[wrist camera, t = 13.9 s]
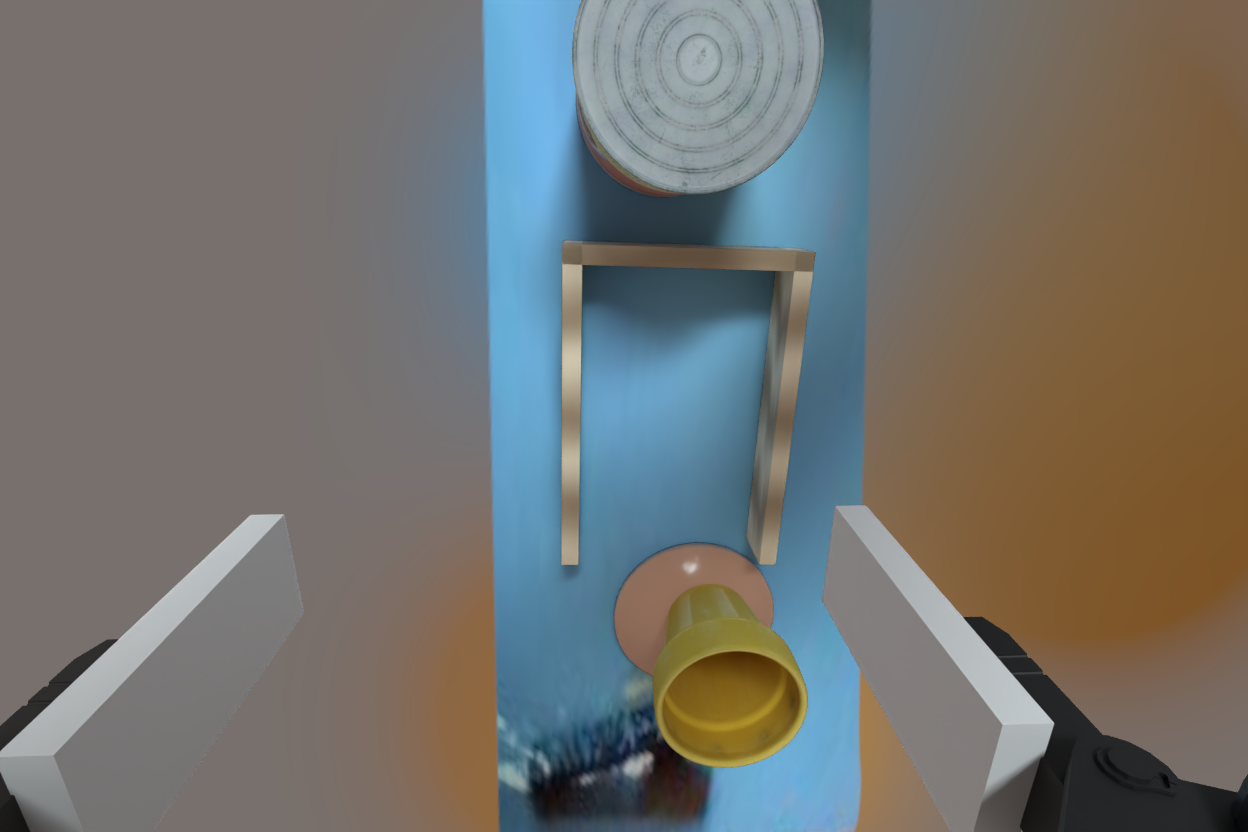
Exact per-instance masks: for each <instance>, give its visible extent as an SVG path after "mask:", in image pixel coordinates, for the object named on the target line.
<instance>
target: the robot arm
mask: <svg viewBox="0 0 1248 832" xmlns="http://www.w3.org/2000/svg"><path fill="white" fill-rule="evenodd" d="M822 602H823V603H824V605H825V607H826V609H827V611H828V612H829V614H830V616H831V618H832V620H833V621H834V623H835V625H836V627H837V629H838V630H839V632H840V634H841V636H842V637H843V639H844V641H845V643H846V645H847V646H848V648H849V650H850V652H851V654H852V655H853V657H854V659H855V661H856V663H857V664H858V666H859V668H860V670H861V672H862V673H863V675H864V677H865V679H866V681H867V682H868V684H869V686H870V688H871V689H872V691H873V693H874V695H875V697H876V699H877V700H878V702H879V704H880V706H881V708H882V709H883V711H884V713H885V715H886V717H887V718H888V720H889V722H890V724H891V726H892V727H893V729H894V731H895V733H896V735H897V736H898V738H899V740H900V741H901V743H902V745H903V747H904V749H905V751H906V753H907V754H908V756H909V758H910V760H911V762H912V763H913V765H914V767H915V769H916V770H917V772H918V774H919V776H920V778H921V779H922V781H923V783H924V785H925V787H926V788H927V790H928V792H929V794H930V796H931V797H932V799H933V801H934V803H935V804H936V806H937V808H938V810H939V812H940V814H941V815H942V817H943V819H944V821H945V822H946V824H947V826H948V828H949V830H950V831H951V832H1021V829H1022V831H1023V832H1248V775H1247V776H1246V778H1245V779H1244V781H1243V783H1242V785H1241V787H1240V789H1239V791H1238V793H1237V792H1233V791H1228V790H1224V789H1219V788H1215V787H1211V786H1206V785H1202V784H1197V783H1193V782H1188V781H1183V780H1180V779H1178V778H1177V776H1176V775H1175V774H1174V773H1173V772H1172V771H1171V769H1170V768H1169V767H1168V766H1167V765H1165V764H1164V763H1163V762H1161V761H1160V760H1159V759H1157V758H1156V757H1154V756H1153V755H1152V754H1151V753H1149V752H1147V751H1145V750H1143V749H1141V748H1139V747H1138V746H1136V745H1134V744H1132V743H1130V742H1127V741H1124V740H1121V739H1118V738H1114V737H1111V736H1108V735H1102V734H1101V733H1100V732H1099V730H1098V729H1097V728H1096V727H1095V726H1094V725H1093V724H1092V723H1091V722H1090V721H1089V720H1088V719H1087V718H1086V717H1085V716H1084V714H1083V713H1082V712H1081V711H1080V710H1079V709H1078V708H1077V707H1076V706H1075V705H1074V704H1073V703H1072V702H1071V700H1070V699H1069V698H1068V697H1067V696H1066V695H1065V694H1064V693H1063V692H1062V691H1061V690H1060V689H1059V688H1058V687H1057V686H1056V684H1055V683H1054V682H1053V681H1052V680H1051V679H1050V678H1049V677H1048V676H1047V675H1043V672H1042V670H1041V668H1039V666H1038V665H1037V664H1036V663H1035V662H1034V661H1033V660H1032V659H1031V658H1028V657H1027V653H1026V652H1024V650H1023V649H1022V648H1021V647H1020V646H1019V645H1018V644H1017V643H1016V642H1015V641H1014V640H1013V639H1012V637H1011V636H1010V635H1009V634H1008V633H1006V632H1004V631H1003V630H1001V629H1000V628H998V627H997V626H995V625H994V624H992V623H991V622H989V621H988V620H986V619H985V618H983V617H962V616H961V615H960V614H959V613H958V611H957V610H956V609H955V608H954V607H953V606H952V604H951V603H950V602H949V601H948V600H947V599H946V597H945V596H944V595H943V594H942V593H941V592H940V591H939V589H938V588H937V587H936V586H935V585H934V584H933V582H932V581H931V580H930V579H929V578H928V577H927V575H926V574H925V573H924V572H923V571H922V570H921V569H920V567H919V566H918V565H917V564H916V563H915V562H914V561H913V559H912V558H911V557H910V556H909V555H908V554H907V552H906V551H905V550H904V549H903V548H902V547H901V545H900V544H899V543H898V542H897V541H896V540H895V539H894V537H893V536H892V535H891V534H890V533H889V532H888V530H887V529H886V528H885V527H884V526H883V525H882V523H881V522H880V521H879V520H878V519H877V518H876V516H875V515H874V514H873V513H872V512H871V511H870V510H869V508H868V507H867V506H865V505H855V506H835V510H834V517H833V524H832V532H831V539H830V546H829V554H828V561H827V568H826V576H825V583H824V590H823V598H822ZM303 613H304V611H303V605H302V600H301V595H300V590H299V585H298V580H297V576H296V571H295V566H294V561H293V556H292V551H291V546H290V541H289V536H288V531H287V526H286V521H285V516H284V515H250V516H249V517H248V518H247V519H246V520H245V521H244V522H243V523H242V524H241V525H240V526H239V527H238V528H237V529H235V531H233V532H232V533H231V534H230V535H229V536H228V537H227V538H226V539H225V540H224V541H223V542H222V543H221V544H220V545H219V546H217V547H216V548H215V549H214V550H213V551H212V552H211V553H210V554H209V555H208V556H207V557H206V558H205V559H204V560H203V561H201V562H200V563H199V564H198V565H197V566H196V567H195V568H194V569H193V570H192V571H191V572H190V573H189V574H188V575H187V576H186V577H184V579H182V581H180V582H179V583H178V584H177V585H176V586H175V587H174V588H173V589H172V590H171V591H170V592H169V593H168V594H166V595H165V596H164V597H163V598H162V599H161V600H160V601H159V602H158V603H157V604H156V605H155V606H154V607H153V608H152V609H151V610H149V611H148V612H147V613H146V614H145V615H144V616H143V617H142V618H141V619H140V620H139V621H138V622H137V623H136V624H135V625H134V626H133V627H131V628H130V629H129V630H128V631H127V632H126V633H125V634H124V635H123V636H122V637H121V638H120V639H118V640H117V639H116V640H114V639H113V640H106V641H104V642H103V643H101V644H99V645H98V646H96V647H94V648H93V649H91V650H89V651H88V652H86V653H84V654H82V655H81V656H79V657H77V658H76V659H74V660H73V661H72V662H71V663H70V664H69V665H68V666H66V667H65V668H64V669H63V670H62V671H61V672H60V673H59V674H58V675H57V676H55V677H54V678H53V679H52V680H51V681H50V682H49V685H48V687H43V688H42V689H41V690H40V691H39V692H38V693H37V694H35V695H34V696H33V697H32V698H31V699H30V700H29V701H28V704H27V706H22V707H21V708H20V709H19V710H18V711H16V712H15V713H14V714H13V715H12V716H11V717H10V718H9V719H8V720H7V721H6V722H4V723H3V724H2V725H1V726H0V832H153V831H154V830H155V828H156V827H157V825H158V824H159V822H160V821H161V819H162V818H163V816H164V815H165V814H166V812H167V811H168V809H169V808H170V806H171V805H172V803H173V802H174V800H175V799H176V797H177V796H178V795H179V793H180V792H181V790H182V789H183V787H184V786H185V785H186V783H187V782H188V780H189V779H190V777H191V776H192V774H193V773H194V771H195V770H196V768H197V767H198V765H199V764H200V763H201V761H202V760H203V758H204V757H205V755H206V754H207V753H208V751H209V750H210V748H211V747H212V745H213V744H214V742H215V741H216V739H217V738H218V737H219V735H220V734H221V732H222V731H223V729H224V728H225V726H226V725H227V724H228V722H229V721H230V719H231V718H232V716H233V715H234V713H235V712H236V710H237V709H238V708H239V706H240V705H241V703H242V702H243V700H244V699H245V697H246V696H247V694H248V693H249V692H250V690H251V689H252V687H253V686H254V684H255V682H256V681H257V680H258V679H259V677H260V676H261V674H262V673H263V671H264V670H265V668H266V667H267V665H268V664H269V662H270V661H271V660H272V658H273V657H274V655H275V654H276V652H277V651H278V649H279V648H280V647H281V645H282V644H283V642H284V641H285V639H286V638H287V636H288V635H289V633H290V632H291V631H292V629H293V628H294V626H295V625H296V623H297V622H298V620H299V619H300V617H301V616H302V615H303Z"/></svg>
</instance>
